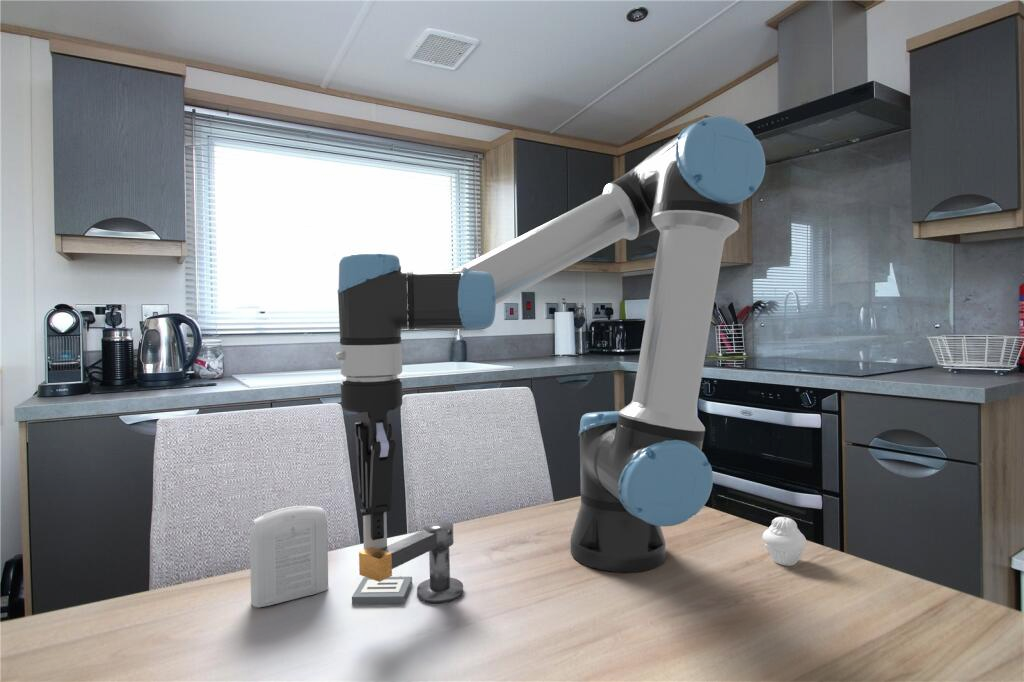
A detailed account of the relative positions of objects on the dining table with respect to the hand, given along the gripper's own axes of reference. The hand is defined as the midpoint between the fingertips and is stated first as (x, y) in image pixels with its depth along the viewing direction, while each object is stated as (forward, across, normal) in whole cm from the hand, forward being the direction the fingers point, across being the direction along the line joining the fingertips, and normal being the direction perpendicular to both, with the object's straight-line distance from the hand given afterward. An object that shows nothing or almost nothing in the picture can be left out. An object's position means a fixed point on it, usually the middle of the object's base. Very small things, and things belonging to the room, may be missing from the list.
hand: (375, 560), depth 73 cm
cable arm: (+1, 0, +5) cm, 5 cm away
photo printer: (+8, -11, -9) cm, 17 cm away
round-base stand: (+7, -2, +9) cm, 12 cm away
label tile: (+8, -6, +2) cm, 10 cm away
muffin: (+8, +13, +60) cm, 62 cm away
